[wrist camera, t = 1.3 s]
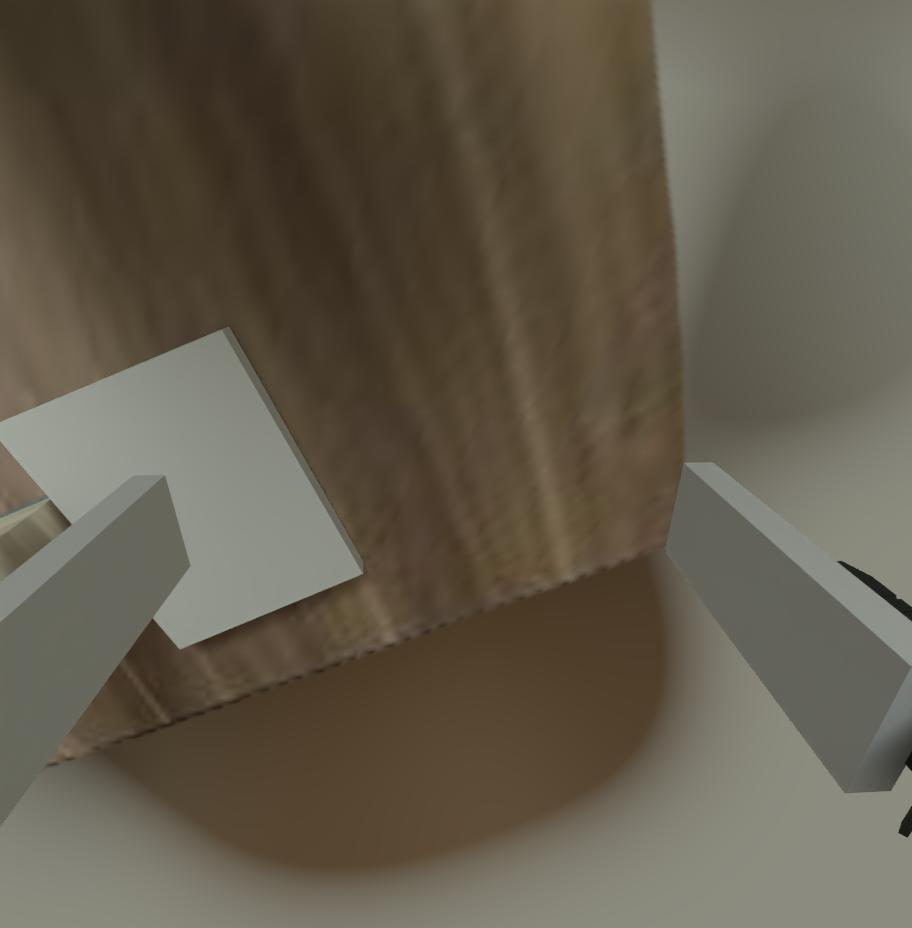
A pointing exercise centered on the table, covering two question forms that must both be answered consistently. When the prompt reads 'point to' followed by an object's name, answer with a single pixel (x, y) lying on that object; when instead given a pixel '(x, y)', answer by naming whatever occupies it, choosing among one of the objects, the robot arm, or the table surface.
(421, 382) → the table surface
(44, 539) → the birch block
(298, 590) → the pad
